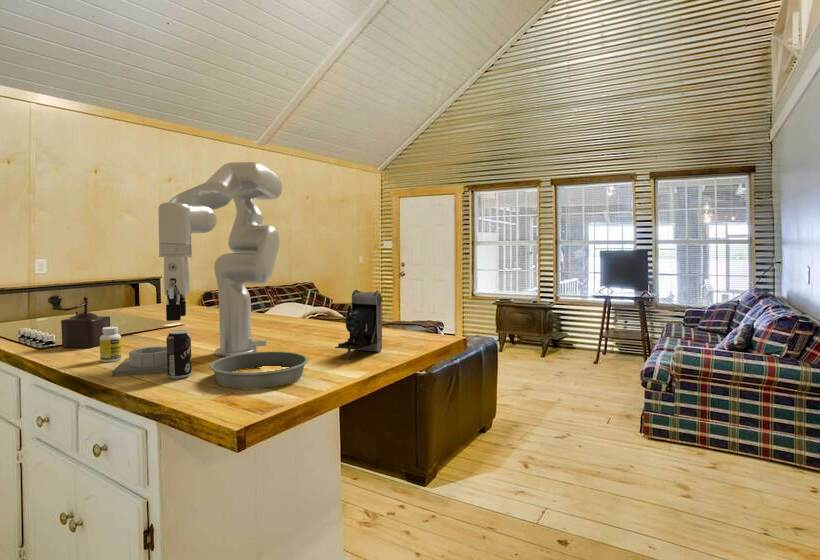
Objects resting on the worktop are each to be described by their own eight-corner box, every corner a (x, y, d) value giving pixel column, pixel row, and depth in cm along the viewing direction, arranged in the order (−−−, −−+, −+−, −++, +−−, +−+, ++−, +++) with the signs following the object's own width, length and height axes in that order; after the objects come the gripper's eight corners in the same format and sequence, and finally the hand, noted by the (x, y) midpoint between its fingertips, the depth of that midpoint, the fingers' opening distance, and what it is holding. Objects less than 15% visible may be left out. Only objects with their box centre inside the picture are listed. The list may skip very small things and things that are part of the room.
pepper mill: (82, 341, 175) (80, 291, 174) (112, 342, 174) (110, 291, 173) (46, 351, 160) (43, 295, 158) (79, 352, 159) (76, 296, 157)
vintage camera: (332, 359, 151) (331, 295, 148) (356, 348, 165) (356, 288, 163) (361, 363, 147) (360, 297, 145) (383, 351, 161) (383, 290, 159)
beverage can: (192, 373, 133) (191, 328, 132) (191, 378, 128) (190, 332, 127) (168, 375, 131) (167, 330, 130) (166, 380, 126) (165, 333, 125)
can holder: (186, 358, 150) (186, 343, 150) (179, 371, 135) (178, 354, 134) (126, 362, 145) (126, 346, 145) (112, 376, 130) (111, 358, 130)
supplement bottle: (111, 362, 144) (110, 329, 144) (96, 361, 145) (94, 328, 145) (126, 358, 150) (124, 326, 149) (110, 357, 151) (109, 325, 150)
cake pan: (295, 362, 146) (295, 347, 146) (320, 383, 124) (319, 366, 124) (205, 372, 135) (204, 356, 135) (215, 397, 113) (214, 377, 113)
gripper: (187, 251, 120) (188, 322, 121) (195, 252, 136) (196, 314, 137) (152, 251, 117) (153, 323, 118) (165, 251, 134) (166, 314, 135)
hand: (176, 318), depth 128 cm, fingers open, 9 cm apart
